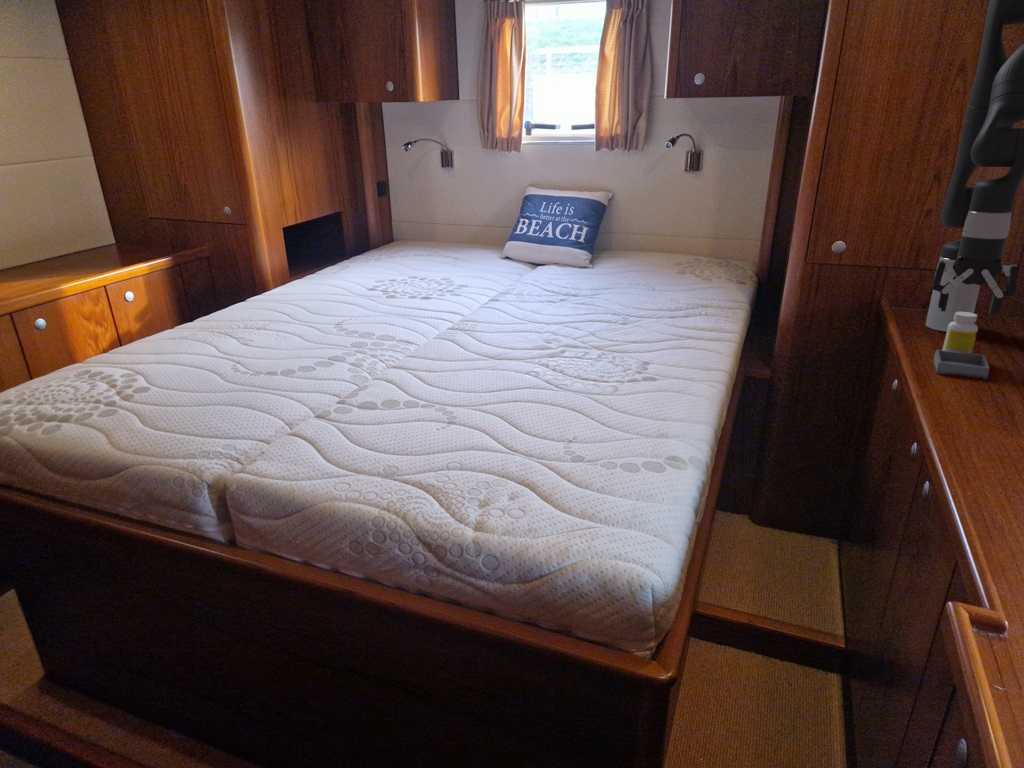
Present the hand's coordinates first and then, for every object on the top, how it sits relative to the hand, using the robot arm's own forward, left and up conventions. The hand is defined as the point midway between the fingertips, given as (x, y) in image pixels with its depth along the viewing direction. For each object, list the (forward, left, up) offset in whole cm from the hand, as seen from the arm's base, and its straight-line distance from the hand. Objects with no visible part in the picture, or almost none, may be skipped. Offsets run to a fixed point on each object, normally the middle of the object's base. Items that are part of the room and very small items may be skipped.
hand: (966, 312), depth 139 cm
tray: (+8, 0, -10) cm, 13 cm away
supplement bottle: (0, 0, -10) cm, 10 cm away
